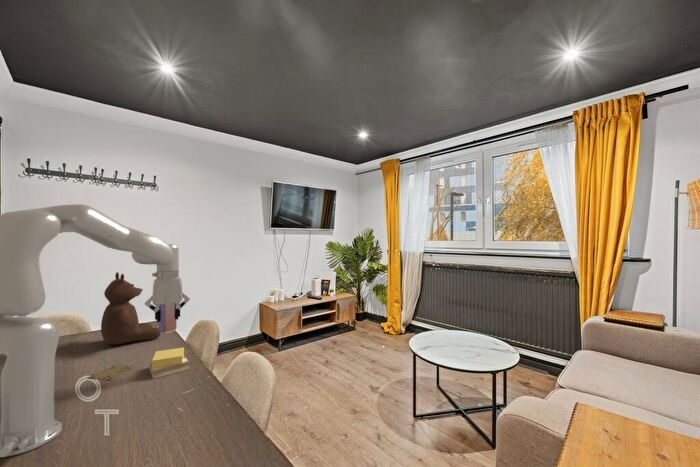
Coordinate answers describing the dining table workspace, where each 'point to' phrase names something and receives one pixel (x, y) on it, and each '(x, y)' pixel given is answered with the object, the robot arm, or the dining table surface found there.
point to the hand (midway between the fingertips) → (167, 319)
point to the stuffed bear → (124, 315)
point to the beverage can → (167, 316)
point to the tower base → (168, 368)
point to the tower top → (168, 357)
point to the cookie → (114, 372)
